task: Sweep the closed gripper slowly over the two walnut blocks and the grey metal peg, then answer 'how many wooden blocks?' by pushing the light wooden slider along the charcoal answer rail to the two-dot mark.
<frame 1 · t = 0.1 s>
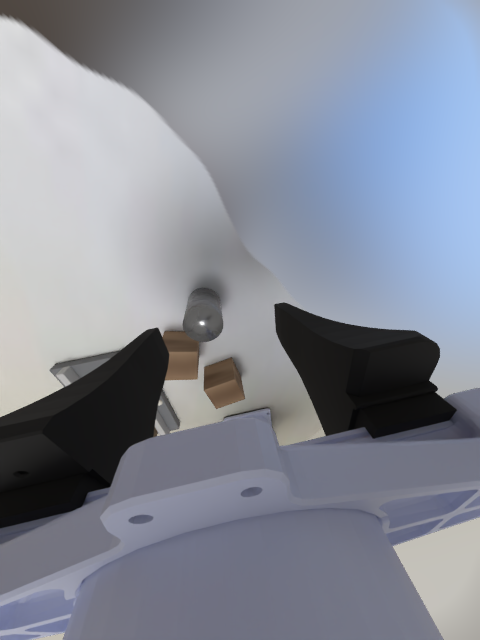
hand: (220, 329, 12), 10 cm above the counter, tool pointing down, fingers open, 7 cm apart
metal peg: (204, 303, 22), on the counter
walnut block 2: (182, 344, 24), on the counter
walnut block 1: (223, 371, 27), on the counter
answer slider: (135, 438, 27), point 3 cm above the counter, slide at -5.0 cm
answer rail: (127, 398, 27), on the counter
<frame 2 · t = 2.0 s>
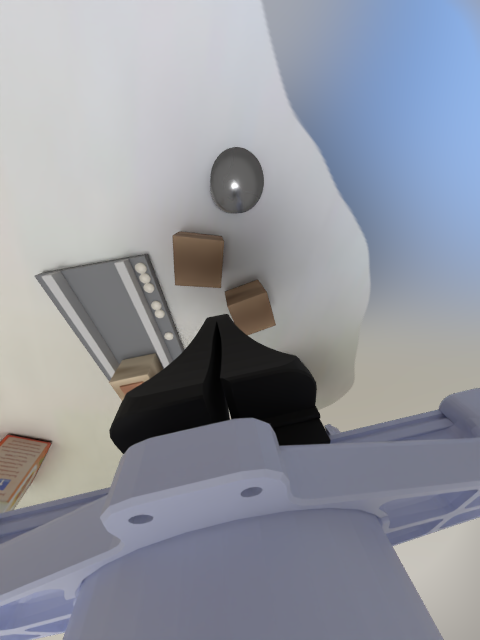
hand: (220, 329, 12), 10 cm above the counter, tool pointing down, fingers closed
metal peg: (230, 190, 17), on the counter
walnut block 2: (200, 254, 20), on the counter
cracker box: (21, 458, 31), on the counter
walnut block 1: (246, 300, 23), on the counter
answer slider: (140, 379, 22), point 3 cm above the counter, slide at -5.0 cm
answer rail: (131, 331, 22), on the counter
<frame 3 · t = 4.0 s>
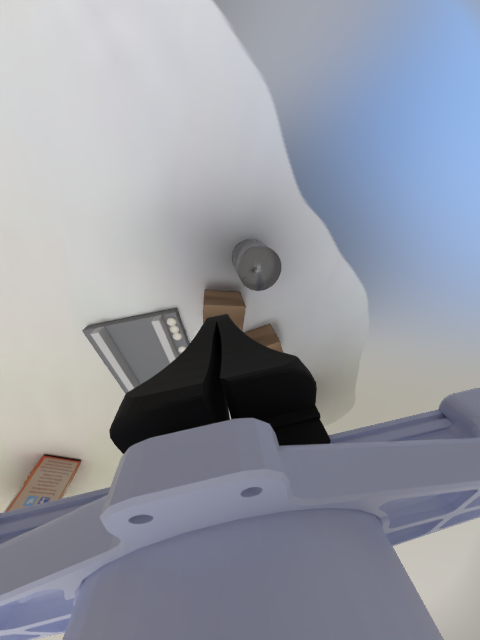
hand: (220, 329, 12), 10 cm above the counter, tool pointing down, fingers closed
metal peg: (249, 257, 20), on the counter
walnut block 2: (221, 306, 22), on the counter
cracker box: (52, 475, 34), on the counter
walnut block 1: (259, 340, 26), on the counter
answer rail: (158, 368, 25), on the counter
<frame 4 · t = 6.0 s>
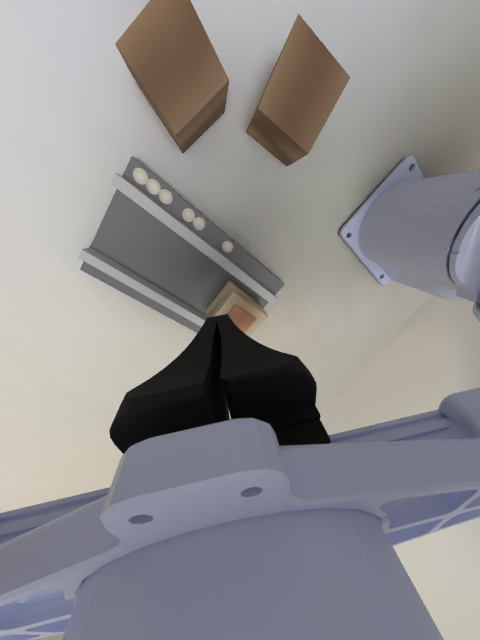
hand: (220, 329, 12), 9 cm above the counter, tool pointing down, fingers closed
walnut block 2: (183, 102, 13), on the counter
walnut block 1: (281, 121, 15), on the counter
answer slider: (235, 313, 19), point 3 cm above the counter, slide at -5.0 cm
answer rail: (192, 274, 19), on the counter
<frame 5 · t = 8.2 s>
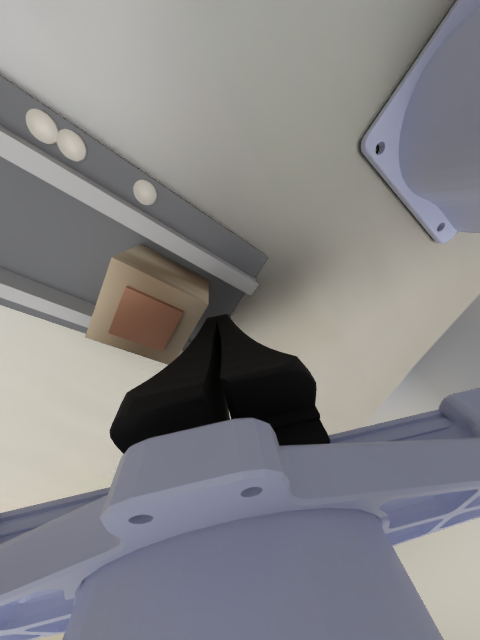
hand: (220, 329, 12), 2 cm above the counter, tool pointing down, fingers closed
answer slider: (156, 305, 10), point 3 cm above the counter, slide at -3.6 cm, touching gripper
answer rail: (107, 257, 11), on the counter
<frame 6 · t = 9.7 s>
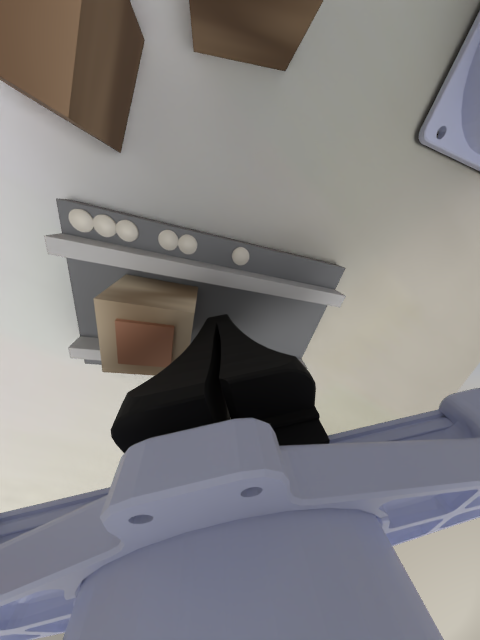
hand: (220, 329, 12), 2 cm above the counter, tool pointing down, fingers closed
walnut block 2: (79, 65, 8), on the counter
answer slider: (154, 326, 10), point 3 cm above the counter, slide at 3.1 cm, touching gripper
answer rail: (211, 310, 14), on the counter
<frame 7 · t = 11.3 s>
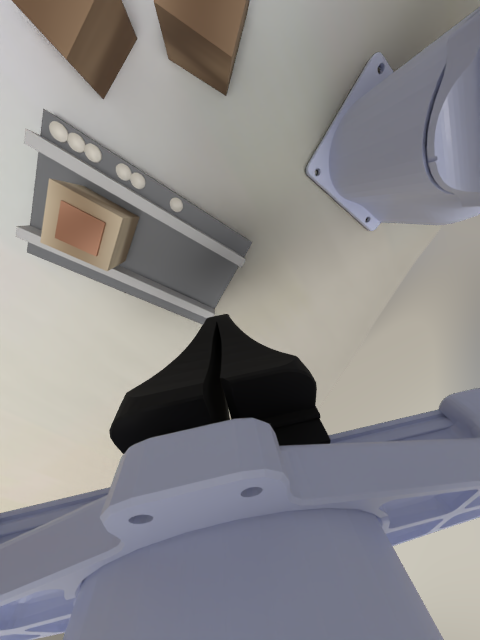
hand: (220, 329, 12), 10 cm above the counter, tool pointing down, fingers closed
walnut block 2: (88, 33, 12), on the counter
walnut block 1: (207, 37, 12), on the counter
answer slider: (94, 228, 14), point 3 cm above the counter, slide at 3.2 cm
answer rail: (149, 245, 18), on the counter
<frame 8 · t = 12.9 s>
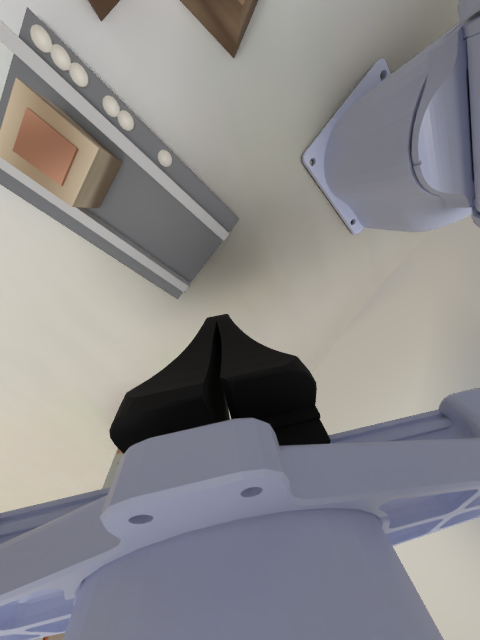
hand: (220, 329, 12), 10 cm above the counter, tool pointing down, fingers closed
cracker box: (166, 425, 32), on the counter
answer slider: (66, 157, 12), point 3 cm above the counter, slide at 3.2 cm
answer rail: (129, 198, 16), on the counter
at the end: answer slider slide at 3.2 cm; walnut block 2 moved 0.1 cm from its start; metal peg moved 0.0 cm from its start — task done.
